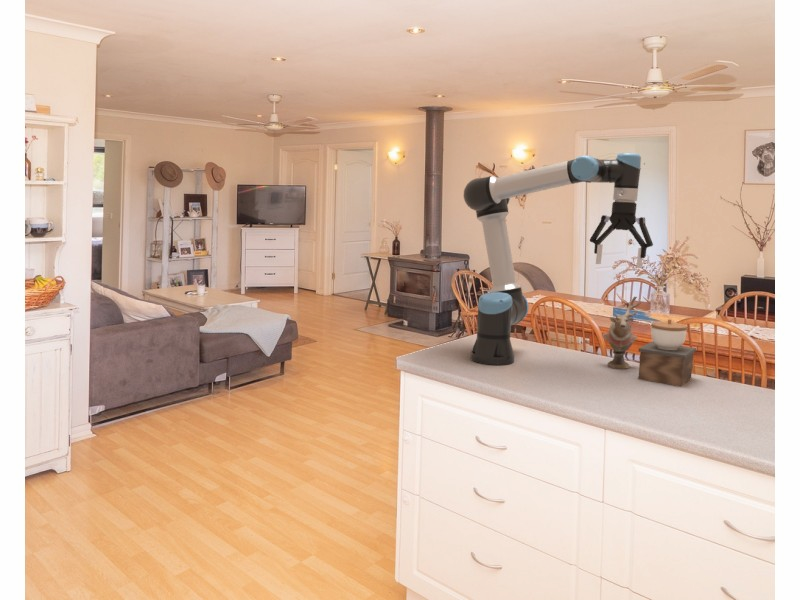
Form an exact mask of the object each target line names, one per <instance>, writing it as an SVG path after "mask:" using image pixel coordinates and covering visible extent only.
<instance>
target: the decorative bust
mask: <svg viewBox="0 0 800 600" xmlns="http://www.w3.org/2000/svg"><path fill="white" fill-rule="evenodd" d="M637 298H638V297H637V296H633V298H632V299H631V301H630V302H629V304H628V307H627V309H626V312H625V313H624V314H618V313H617V314H616V316H615V317H614V316H610V317H609V321H610V322H611V323H610V325H609V328H608V332H605V333H603V334H602V335H601V336H602V338H603V339H604V340H605V341H607V342H608V344H609V346H610V347H611V348H612V354H614V356H613V359H612V360H610V361H609V362H607V363H606V364H607V366H608V368H612V369H618V370H619V369H620V370H625V369H627V370H628V369H629V368H630V367H631V366H630V364H629V363H628V362H626V361H625V359H624V358H625V357H624V356H625V355H626V354H627V351H628V350H629V349H630V348H631V346H632V344H633V343H634V342H635V341H636V340H637V338H638V336H637V334H635V333H632V325H631V324H630V323H632V322H633V321H634V318H631V317H633V316H635V315H637V312H632V313H631V311H632V310H634V309H635V308H637V307H639V306H640V305H641V304H642V301H639V302H636V304H634V303H635V301H636V300H637Z"/></svg>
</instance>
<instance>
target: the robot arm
mask: <svg viewBox="0 0 800 600" xmlns="http://www.w3.org/2000/svg"><path fill="white" fill-rule="evenodd" d="M641 161H642V156H641V155H640V154H639V153H634V152H633V153H632V152H625V153H624V152H623V153H618V154H617V156H616V158H615V159H599V158H596V157H593V156H591V155H586V154H585V155H580V156H577V157H576V158H574V159H570V160H566V161H562V162H561V161H560V162H557V163H554V164H549V165H545V166H541V167H536V168H532V169H529V170H523V171H519V172H516V173H510V174H507V175H503V176H498V177H497V176H496V175H489V176H484V177H478V178H473V179H472V180H470V181H468V183H467V184H466V185H465V188H464V190H463V200H464V202H465V204H466V205H467V207H469V209H471V210H473V211H475V214H476V219H477V220H478V221H479V222H481V225H482V231H483V237H484V241H485V242H484V243H485V247H486V254H487V259H488V265H489V271H490V278H491V282H492V287H491V289H490V291H489V292H487V293H486V292H485V293H482V295H480V296H479V298H478V304H477V323H476V324H477V325H476V338H475V342H474V345H473V347H472V350H471V352H470V360H471V359H472V360H471V361H473V362H475V361H476V362H475V363H478V362H479V364H483V363H484V365H492V366H494V365H496V366H498V365H499V366H501V365H504V366H505V365H509V364H514V362H515V353H514V349H513V345H512V342H511V330H512V329H511V328H512V327H511V326H513V325H514V326H515V325H517V324H519V323H520V322H522V321H523V320H524V319H525V318H526V317H527V315H528V312H529V302H528V299H527V298H526V297H525V295H523V289H522V286H521V285H519V283H517V281H516V273H515V268H514V263H513V257H512V251H511V245H510V244H511V243H510V239H509V232H508V227H507V220H506V218H507V216H508V215H509V212H510V211H509V207H508V204H509V203H510V198H515V197H520V196H523V195H528V194H532V193H538V192H541V191H546V190H550V189H555V188H560V187H564V186H569V185H572V184H579V183H602V184H603V183H604V184H605V183H609V184H611V183H612V184H613V185H614V186H613V194H612V195H613V196H612V200H613V202H612V204H611V215H610V216H608V215H606V214H605V215H601V217H600V221H599V223H598V225H597V227H596V228H595V230H594V232H593V233H592V235H591V237H590V239H589V242H591V243H593V244H594V250H593V252H594V254H595V255H596V257H595V265H600V264H602V257H603V256H602V254H603V244H602V242H604V240H606V238H608V236H610V235H611V233H613V231H615V230H616V231H617V230H618V231H620V230H621V231H628V232H630V233H631V235H632V236H633V237H634V239H635V240H636V242H637V244H638V245H639V246H640V247H638V249H637V251H638V252H637V259H636V269H642V265H643V259H645V258H646V256H647V249H648V248H650V247H653V246H654V243H653V241H652V238H651V235H650V232H649V230H648V228H647V226H646V217H644V216H642V217H641V216H640V217H636V213H637V202H636V201H638V196H639V195H638V193H639V185H640V184H639V183H640V177H641V176H640V175H641V169H642V168H641V165H642V164H641ZM609 221H610V223H611V224H610V225H609V226H608V227H607V229H606V230H605V231H604V232H603V233H602V231H603V229H604V227H605V226H606V224H607V223H608V222H609ZM635 223H637V224H638V225H639V228H640V231H641V234H642V235H640V233H639V232H638V230H637V228H636V226H634V224H635ZM601 233H602V234H601ZM642 237H643V238H644V239H643V238H642Z"/></svg>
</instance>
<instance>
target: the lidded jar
mask: <svg viewBox="0 0 800 600" xmlns="http://www.w3.org/2000/svg"><path fill="white" fill-rule="evenodd" d="M650 324H651V325H650V326H651V329H650V334H651V340H652V342H654V343H655V345H656V346H657V348H659V349H664V350H677V349H678V348H679V347H680V346H683V344H684V343H685V341H686V339H687V331H688V325H686V324H684V323H679V322H673V321H672V319H671V318H668V319H667V321H653V322H651V323H650Z"/></svg>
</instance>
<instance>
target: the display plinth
mask: <svg viewBox="0 0 800 600" xmlns="http://www.w3.org/2000/svg"><path fill="white" fill-rule="evenodd" d="M638 352H639V354H640V355H639V365H638V377H637V379H639V380H643V381H650V382H655V383H660V384H665V383H666V384H667V385H671V384H672V386H676V385H677V386H678V387H682V386H683V385H685V384H686V383H687V382H688V381H690V380H691V379H692V374H693V372H692V371H693V365H694V364H693V363H694V354H695V352H697V347H692V346H691V347H690V346H683V345H681V346H680V347H679V348H678V349H677V350H664V349H659V348H657V346H656V345H655V343H654V342H653V341H650V342H648V343H647V344H644V345H643V346H640V347H639V348H638ZM690 378H691V379H690ZM686 381H687V382H686ZM685 382H686V383H685ZM684 383H685V384H684Z"/></svg>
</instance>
